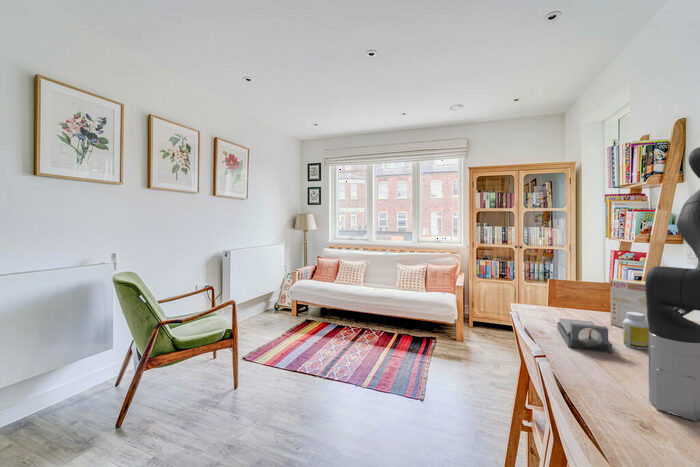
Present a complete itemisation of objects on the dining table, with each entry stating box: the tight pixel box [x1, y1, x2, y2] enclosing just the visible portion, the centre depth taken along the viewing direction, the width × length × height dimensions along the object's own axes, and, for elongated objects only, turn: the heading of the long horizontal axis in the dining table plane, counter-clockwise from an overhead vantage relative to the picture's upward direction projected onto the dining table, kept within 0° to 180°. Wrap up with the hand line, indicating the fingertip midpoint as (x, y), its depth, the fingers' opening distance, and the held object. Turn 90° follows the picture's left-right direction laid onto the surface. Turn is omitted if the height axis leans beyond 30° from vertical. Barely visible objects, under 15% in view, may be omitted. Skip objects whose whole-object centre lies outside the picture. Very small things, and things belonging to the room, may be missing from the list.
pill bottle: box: [622, 312, 649, 350], centre depth 104 cm, size 6×6×12 cm
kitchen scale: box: [556, 321, 613, 354], centre depth 110 cm, size 21×12×8 cm, turn 154°
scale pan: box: [558, 317, 597, 335], centre depth 112 cm, size 16×11×1 cm, turn 154°
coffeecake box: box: [609, 277, 648, 328], centre depth 120 cm, size 15×7×20 cm, turn 22°
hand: (662, 317), depth 99 cm, fingers open, 8 cm apart
